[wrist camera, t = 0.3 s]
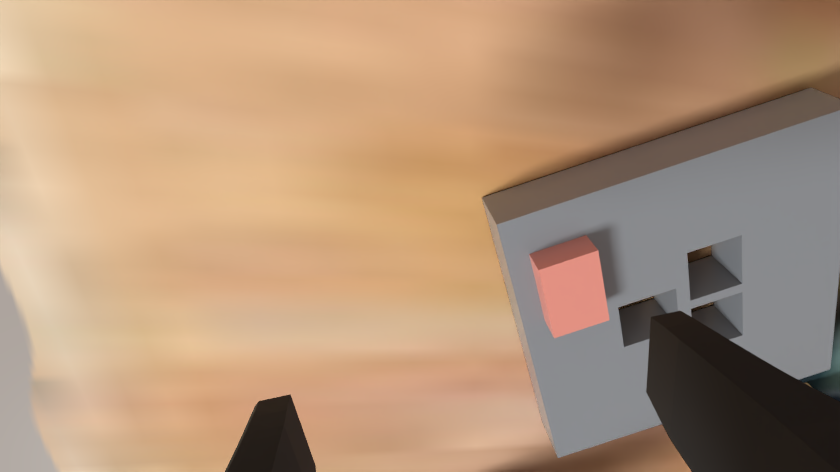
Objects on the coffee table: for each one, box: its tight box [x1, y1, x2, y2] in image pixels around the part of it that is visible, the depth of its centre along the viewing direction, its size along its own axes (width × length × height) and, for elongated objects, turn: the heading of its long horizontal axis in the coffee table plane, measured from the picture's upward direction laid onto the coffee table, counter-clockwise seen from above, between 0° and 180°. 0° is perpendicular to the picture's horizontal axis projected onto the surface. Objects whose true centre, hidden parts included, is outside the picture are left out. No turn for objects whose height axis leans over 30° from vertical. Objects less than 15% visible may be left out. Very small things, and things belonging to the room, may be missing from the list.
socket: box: [482, 88, 840, 458], centre depth 23 cm, size 12×12×3 cm
